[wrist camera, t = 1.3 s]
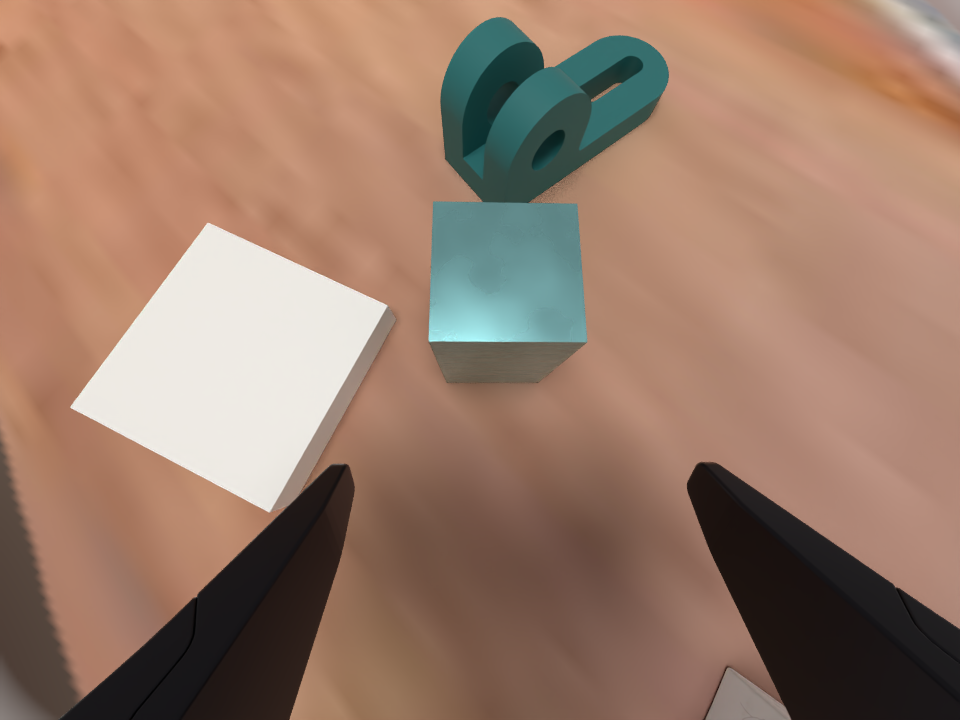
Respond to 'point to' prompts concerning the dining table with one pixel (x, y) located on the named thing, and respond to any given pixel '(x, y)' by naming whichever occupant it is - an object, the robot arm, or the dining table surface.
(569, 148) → the bracket
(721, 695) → the small box
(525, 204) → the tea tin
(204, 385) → the riser block
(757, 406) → the dining table surface
